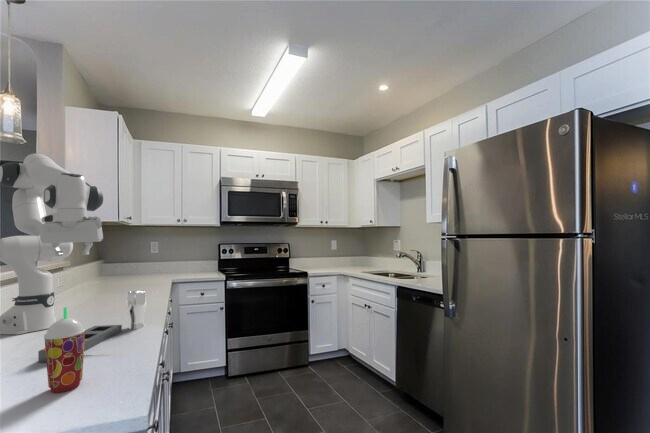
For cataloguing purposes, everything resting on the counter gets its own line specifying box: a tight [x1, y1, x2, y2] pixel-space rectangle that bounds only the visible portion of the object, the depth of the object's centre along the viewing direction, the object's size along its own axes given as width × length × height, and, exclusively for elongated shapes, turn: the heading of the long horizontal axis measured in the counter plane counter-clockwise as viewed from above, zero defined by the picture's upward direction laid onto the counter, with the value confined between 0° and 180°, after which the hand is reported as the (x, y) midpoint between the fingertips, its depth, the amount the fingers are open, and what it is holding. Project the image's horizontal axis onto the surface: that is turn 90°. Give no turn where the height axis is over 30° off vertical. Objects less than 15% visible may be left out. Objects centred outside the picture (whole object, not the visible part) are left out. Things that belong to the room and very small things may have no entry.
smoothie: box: [43, 306, 86, 394], centre depth 86 cm, size 8×8×20 cm
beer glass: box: [126, 289, 147, 330], centre depth 137 cm, size 7×7×15 cm
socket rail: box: [37, 324, 123, 364], centre depth 117 cm, size 27×10×4 cm, turn 2°
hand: (72, 255), depth 124 cm, fingers open, 8 cm apart
